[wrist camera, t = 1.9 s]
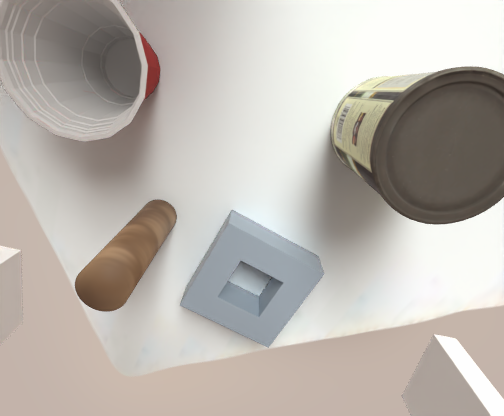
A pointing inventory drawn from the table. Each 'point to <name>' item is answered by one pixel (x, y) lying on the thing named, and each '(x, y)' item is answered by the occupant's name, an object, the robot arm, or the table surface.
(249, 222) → the socket block
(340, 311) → the table surface
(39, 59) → the plastic cup
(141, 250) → the peg
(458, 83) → the coffee can
